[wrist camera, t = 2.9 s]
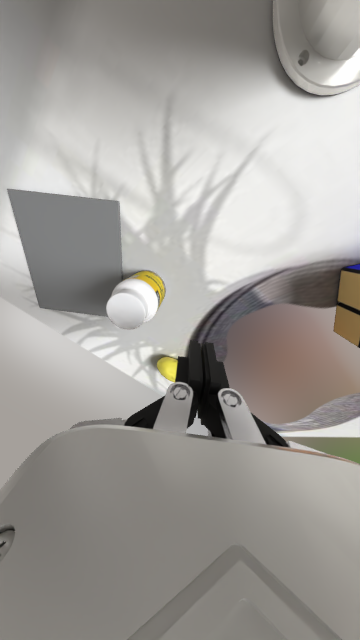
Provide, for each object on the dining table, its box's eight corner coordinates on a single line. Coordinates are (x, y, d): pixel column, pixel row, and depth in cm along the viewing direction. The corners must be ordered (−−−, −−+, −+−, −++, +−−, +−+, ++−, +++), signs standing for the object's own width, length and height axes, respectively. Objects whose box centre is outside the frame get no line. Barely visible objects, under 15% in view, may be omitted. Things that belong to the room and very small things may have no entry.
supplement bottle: (172, 297, 26) (161, 326, 17) (141, 309, 27) (116, 342, 18) (156, 263, 24) (134, 276, 15) (124, 277, 25) (87, 298, 16)
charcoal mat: (119, 201, 21) (117, 201, 21) (124, 317, 28) (123, 318, 28) (10, 189, 21) (7, 188, 21) (42, 306, 28) (39, 307, 28)
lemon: (164, 347, 30) (160, 361, 27) (203, 365, 31) (204, 381, 28) (155, 363, 32) (150, 378, 28) (192, 380, 33) (191, 396, 30)
